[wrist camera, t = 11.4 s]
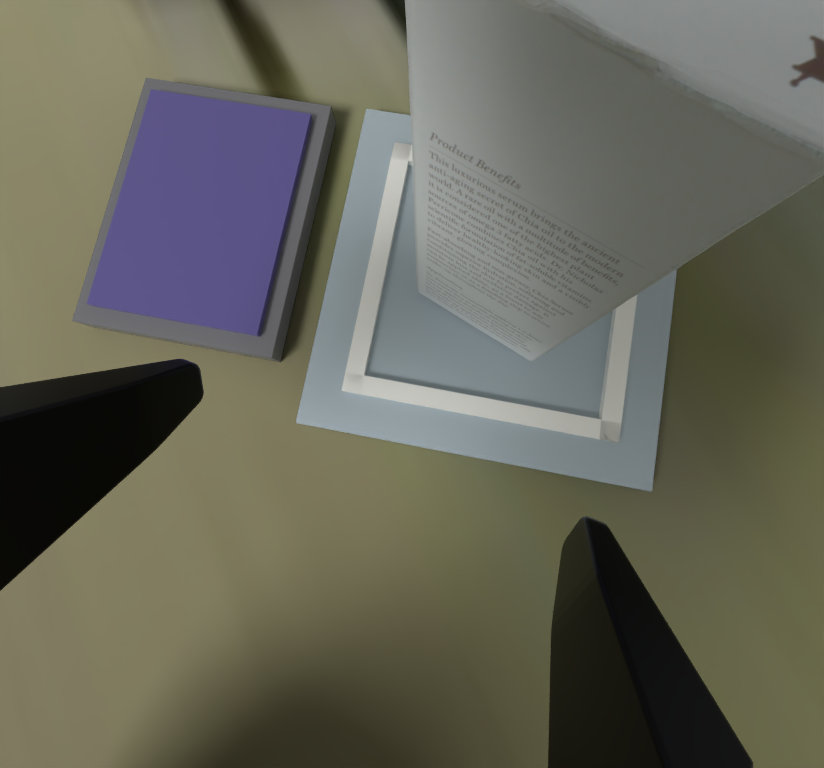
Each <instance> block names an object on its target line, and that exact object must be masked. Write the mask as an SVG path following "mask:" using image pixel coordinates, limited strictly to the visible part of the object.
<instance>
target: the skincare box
mask: <svg viewBox="0 0 824 768" xmlns="http://www.w3.org/2000/svg"><path fill="white" fill-rule="evenodd" d="M405 9H406V25H407V47H408V64H409V94H410V112H411V136H412V166H413V194H414V217H415V248H416V276H417V290H418V292H419V293H420V294H422V295H423V296H425V297H427V298H428V299H430V300H432V301H433V302H435V303H436V304H438V305H440V306H441V307H443V308H444V309H446V310H448V311H449V312H451V313H453V314H454V315H456V316H457V317H459V318H461V319H462V320H464V321H466V322H467V323H469V324H470V325H472V326H474V327H475V328H477V329H479V330H480V331H482V332H484V333H485V334H487V335H488V336H490V337H492V338H493V339H495V340H497V341H498V342H500V343H502V344H503V345H505V346H507V347H508V348H510V349H511V350H513V351H515V352H516V353H518V354H519V355H521V356H523V357H524V358H526V359H527V360H529V361H534V360H536V359H538V358H539V357H541V356H542V355H544V354H546V353H547V352H549V351H550V350H552V349H553V348H555V347H556V346H558V345H559V344H561V343H562V342H564V341H566V340H567V339H568V338H570V337H572V336H573V335H575V334H577V333H578V332H580V331H581V330H583V329H584V328H586V327H588V326H589V325H591V324H592V323H594V322H596V321H597V320H599V319H600V318H602V317H603V316H605V315H606V314H608V313H610V312H611V311H612V310H614V309H615V308H617V307H619V306H620V305H622V304H623V303H625V302H626V301H628V300H629V299H631V298H632V297H634V296H636V295H637V294H639V293H640V292H642V291H643V290H645V289H647V288H648V287H650V286H651V285H653V284H654V283H656V282H658V281H659V280H661V279H662V278H664V277H665V276H667V275H668V274H670V273H671V272H673V271H675V270H676V269H678V268H679V267H681V266H682V265H684V264H685V263H687V262H688V261H690V260H691V259H693V258H694V257H696V256H698V255H699V254H701V253H703V252H704V251H705V250H707V249H708V248H710V247H711V246H713V245H714V244H715V243H717V242H718V241H720V240H722V239H723V238H725V237H726V236H728V235H729V234H731V233H733V232H734V231H736V230H737V229H739V228H741V227H742V226H744V225H746V224H748V223H749V222H751V221H752V220H754V219H755V218H757V217H759V216H760V215H762V214H763V213H765V212H766V211H768V210H770V209H771V208H773V207H774V206H776V205H778V204H779V203H781V202H782V201H784V200H785V199H787V198H789V197H790V196H792V195H793V194H795V193H796V192H798V191H800V190H801V189H803V188H804V187H806V186H808V185H809V184H811V183H813V182H814V181H816V180H817V179H819V178H821V177H822V176H824V0H405Z"/></svg>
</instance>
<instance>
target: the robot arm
mask: <svg viewBox="0 0 824 768" xmlns="http://www.w3.org/2000/svg"><path fill="white" fill-rule="evenodd" d="M203 393H204V391H203V385H202V378H201V372H200V368H199V367H198V365H196V364H195V363H192V362H190V361H187V360H184V359H174V360H168V361H162V362H156V363H149V364H143V365H137V366H131V367H124V368H118V369H112V370H106V371H99V372H93V373H87V374H81V375H74V376H68V377H62V378H56V379H49V380H43V381H37V382H31V383H24V384H18V385H12V386H6V387H0V591H1V590H2V589H3V588H4V587H5V586H6V585H7V584H8V583H10V582H11V581H12V580H13V579H14V578H15V577H16V576H17V575H18V574H19V573H21V572H22V571H23V570H24V569H25V568H26V567H27V566H28V565H29V564H30V563H32V562H33V561H34V560H35V559H36V558H37V557H38V556H39V555H40V554H42V553H43V552H44V551H45V550H46V549H47V548H48V547H49V546H50V545H51V544H53V543H54V542H55V541H56V540H57V539H58V538H59V537H60V536H61V535H63V534H64V533H65V532H66V531H67V530H68V529H69V528H70V527H71V526H72V525H74V524H75V523H76V522H77V521H78V520H79V519H80V518H81V517H82V516H84V515H85V514H86V513H87V512H88V511H89V510H90V509H91V508H92V507H93V506H95V505H96V504H97V503H98V502H99V501H100V500H101V499H102V498H103V497H104V496H106V495H107V494H108V493H109V492H110V491H111V490H112V489H113V488H114V487H116V486H117V485H118V484H119V483H120V482H121V481H122V480H123V479H124V478H125V477H127V476H128V475H129V474H130V473H131V472H132V471H133V470H134V469H135V468H137V467H138V466H139V465H140V464H141V463H142V462H143V461H144V460H145V459H146V458H148V457H149V456H150V455H151V454H152V453H153V452H154V451H155V450H156V449H157V448H158V447H159V446H160V445H161V444H162V443H163V442H164V441H165V440H166V438H167V437H168V436H169V435H170V434H171V433H172V432H173V431H174V430H175V429H176V428H177V427H178V425H179V424H180V423H181V422H182V421H183V420H184V419H185V418H186V417H187V416H188V415H189V413H190V412H191V411H192V410H193V409H194V408H195V407H196V406H197V405H198V404H199V402H200V401H201V400H202V397H203ZM548 768H753V762H752V760H751V758H750V757H749V755H748V754H747V752H746V750H745V749H744V747H743V745H742V744H741V742H740V740H739V739H738V737H737V736H736V734H735V732H734V731H733V729H732V727H731V726H730V724H729V723H728V721H727V719H726V718H725V716H724V714H723V713H722V711H721V710H720V708H719V706H718V705H717V703H716V701H715V700H714V698H713V697H712V695H711V693H710V692H709V690H708V688H707V687H706V685H705V684H704V682H703V680H702V679H701V677H700V675H699V674H698V672H697V671H696V669H695V667H694V666H693V664H692V662H691V661H690V659H689V658H688V656H687V654H686V653H685V651H684V649H683V648H682V646H681V645H680V643H679V641H678V640H677V638H676V636H675V635H674V633H673V631H672V630H671V628H670V627H669V625H668V623H667V622H666V620H665V618H664V617H663V615H662V614H661V612H660V610H659V609H658V607H657V605H656V604H655V602H654V601H653V599H652V597H651V596H650V594H649V592H648V591H647V589H646V588H645V586H644V584H643V583H642V581H641V579H640V578H639V576H638V575H637V573H636V571H635V570H634V568H633V566H632V565H631V563H630V562H629V560H628V558H627V557H626V555H625V553H624V552H623V550H622V549H621V547H620V545H619V544H618V542H617V540H616V539H615V537H614V536H613V534H612V532H611V531H610V529H609V528H608V526H607V525H606V524H604V523H603V522H600V521H598V520H595V519H592V518H590V517H586V516H585V517H582V518H581V519H580V520H579V521H578V523H577V524H576V526H575V527H574V528H573V530H572V531H571V532H570V534H569V535H568V537H567V538H566V540H565V542H564V544H563V547H562V552H561V560H560V567H559V574H558V582H557V589H556V596H555V603H554V611H553V619H552V629H551V660H550V705H549V750H548Z"/></svg>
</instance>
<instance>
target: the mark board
mask: <svg viewBox="0 0 824 768" xmlns="http://www.w3.org/2000/svg"><path fill="white" fill-rule="evenodd" d="M676 274H677V269H676V270H675V271H673V272H671V273H670V274H668V275H667V276H665V277H664V278H662V279H661V280H659V281H658V282H656V283H654V284H653V285H651V286H650V287H648V288H647V289H645V290H643V291H642V292H640V293H639V294H637V295H636V296H634V297H632V298H631V299H629V300H628V301H626V302H625V303H623V304H622V305H620V306H619V307H617V308H615V309H614V310H612V311H611V312H610V313H608V314H606V315H605V316H603V317H602V318H600V319H599V320H597V321H596V322H594V323H592V324H591V325H589V326H588V327H586V328H584V329H583V330H581V331H580V332H578V333H577V334H575V335H573V336H572V337H570V338H568V339H567V340H566V341H564V342H562V343H561V344H559V345H558V346H556V347H555V348H553V349H552V350H550V351H549V352H547V353H546V354H544V355H542V356H541V357H539V358H538V359H536V360H534V361H529V360H527V359H526V358H524V357H523V356H521V355H519V354H518V353H516V352H515V351H513V350H511V349H510V348H508V347H507V346H505V345H503V344H502V343H500V342H498V341H497V340H495V339H493V338H492V337H490V336H488V335H487V334H485V333H484V332H482V331H480V330H479V329H477V328H475V327H474V326H472V325H470V324H469V323H467V322H466V321H464V320H462V319H461V318H459V317H457V316H456V315H454V314H453V313H451V312H449V311H448V310H446V309H444V308H443V307H441V306H440V305H438V304H436V303H435V302H433V301H432V300H430V299H428V298H427V297H425V296H423V295H422V294H420V293H419V292H418V290H417V276H416V248H415V217H414V194H413V166H412V136H411V115H404V114H398V113H391V112H385V111H378V110H372V109H366V113H365V117H364V122H363V126H362V131H361V135H360V139H359V144H358V148H357V153H356V157H355V162H354V166H353V171H352V175H351V180H350V184H349V188H348V193H347V197H346V202H345V206H344V211H343V215H342V220H341V224H340V228H339V233H338V237H337V242H336V246H335V251H334V255H333V260H332V264H331V268H330V273H329V277H328V282H327V286H326V291H325V295H324V300H323V304H322V308H321V313H320V317H319V322H318V326H317V331H316V335H315V340H314V344H313V348H312V353H311V357H310V362H309V366H308V371H307V375H306V380H305V384H304V389H303V393H302V397H301V402H300V406H299V411H298V415H297V420H296V423H299V424H305V425H310V426H315V427H320V428H325V429H330V430H336V431H341V432H346V433H351V434H356V435H361V436H367V437H372V438H377V439H382V440H387V441H392V442H398V443H403V444H408V445H413V446H418V447H423V448H429V449H434V450H439V451H444V452H449V453H454V454H460V455H465V456H470V457H475V458H480V459H485V460H490V461H496V462H501V463H506V464H511V465H516V466H521V467H527V468H532V469H537V470H542V471H547V472H552V473H558V474H563V475H568V476H573V477H578V478H583V479H589V480H594V481H599V482H604V483H609V484H614V485H620V486H625V487H630V488H635V489H640V490H645V491H651V492H652V487H653V478H654V469H655V460H656V451H657V442H658V433H659V424H660V416H661V407H662V398H663V389H664V380H665V371H666V362H667V354H668V345H669V336H670V327H671V318H672V309H673V300H674V292H675V283H676Z"/></svg>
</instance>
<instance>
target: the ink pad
mask: <svg viewBox="0 0 824 768" xmlns="http://www.w3.org/2000/svg"><path fill="white" fill-rule="evenodd" d="M335 127H336V121H335V118H334V114H333V111H332V107H331V106H327V105H321V104H314V103H308V102H301V101H295V100H288V99H282V98H275V97H268V96H262V95H255V94H249V93H242V92H236V91H229V90H223V89H216V88H210V87H203V86H196V85H190V84H183V83H177V82H170V81H164V80H157V79H151V78H146V79H145V83H144V86H143V89H142V93H141V96H140V99H139V103H138V106H137V109H136V112H135V116H134V119H133V122H132V126H131V129H130V132H129V136H128V139H127V142H126V145H125V149H124V152H123V155H122V159H121V162H120V165H119V169H118V172H117V175H116V178H115V182H114V185H113V188H112V192H111V195H110V198H109V201H108V205H107V208H106V211H105V215H104V218H103V221H102V225H101V228H100V231H99V234H98V238H97V241H96V244H95V248H94V251H93V254H92V258H91V261H90V264H89V267H88V271H87V274H86V277H85V281H84V284H83V287H82V291H81V294H80V297H79V300H78V304H77V307H76V310H75V314H74V317H73V320H72V321H74V322H78V323H81V324H84V325H87V326H91V327H95V328H100V329H106V330H111V331H116V332H122V333H127V334H132V335H138V336H143V337H148V338H154V339H159V340H165V341H170V342H175V343H181V344H186V345H191V346H197V347H202V348H208V349H213V350H218V351H224V352H229V353H234V354H240V355H245V356H250V357H256V358H261V359H267V360H272V361H277V362H281V357H282V353H283V349H284V345H285V340H286V336H287V332H288V327H289V323H290V319H291V315H292V310H293V306H294V302H295V298H296V293H297V289H298V285H299V280H300V276H301V272H302V268H303V263H304V259H305V255H306V251H307V246H308V242H309V238H310V233H311V229H312V225H313V221H314V216H315V212H316V208H317V204H318V199H319V195H320V191H321V186H322V182H323V178H324V174H325V169H326V165H327V161H328V157H329V152H330V148H331V144H332V139H333V135H334V131H335Z"/></svg>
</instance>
